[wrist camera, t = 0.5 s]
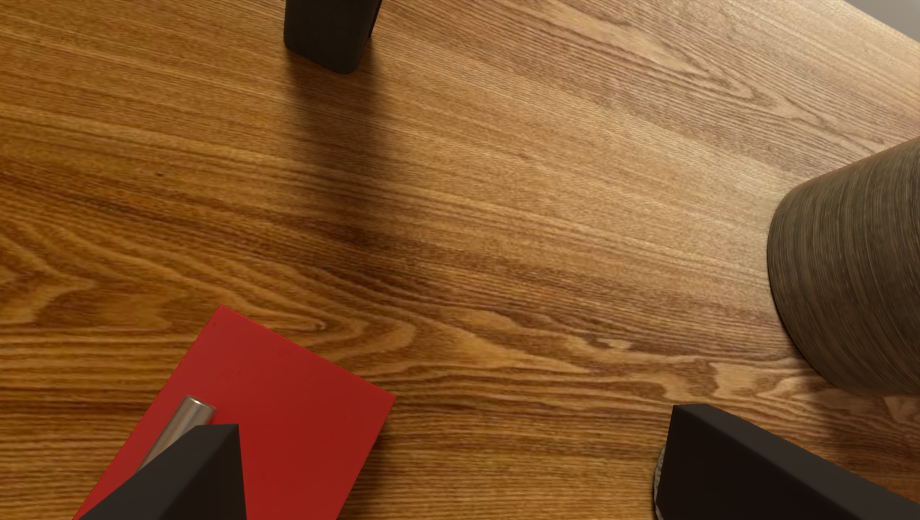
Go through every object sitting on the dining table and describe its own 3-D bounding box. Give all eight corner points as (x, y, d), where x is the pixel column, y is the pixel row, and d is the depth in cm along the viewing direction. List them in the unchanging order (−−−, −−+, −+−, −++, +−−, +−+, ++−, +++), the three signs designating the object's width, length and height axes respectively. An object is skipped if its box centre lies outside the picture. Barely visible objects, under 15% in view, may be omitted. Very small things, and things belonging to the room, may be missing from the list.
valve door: (29, 585, 20) (-24, 632, 17) (221, 305, 25) (215, 291, 21) (258, 669, 22) (259, 727, 19) (394, 396, 27) (417, 399, 24)
